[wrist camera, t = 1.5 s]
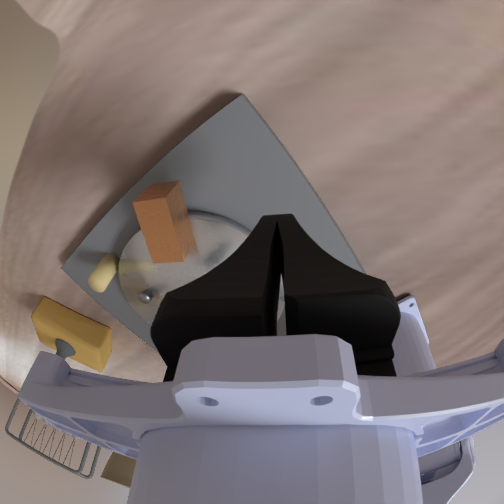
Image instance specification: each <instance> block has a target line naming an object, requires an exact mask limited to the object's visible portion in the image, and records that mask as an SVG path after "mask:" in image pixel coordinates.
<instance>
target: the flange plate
mask: <svg viewBox="0 0 504 504" xmlns="http://www.w3.org/2000/svg"><path fill="white" fill-rule="evenodd" d="M132 203H133V206H134V209H135V212H136V215H137V218H138V221H139V224H140V227H141V228H140V229H139V230H138V231H137V232H136V233H135V234H134V235H133V236H132V238H131V239H130V240H129V242H128V243H127V245H126V246H125V248H124V250H123V252H122V254H121V257H120V261H119V281H120V285H121V288H122V291H123V293H124V295H125V297H126V299H127V301H128V303H129V304H130V306H131V307H132V308H133V310H134V311H135V312H136V313H137V314H138V315H139V316H140V317H141V318H142V319H143V320H144V321H145V322H146V323H147V324H149V325H150V326H152V323H153V321H154V318H155V316H156V313H157V310H158V308H159V306H160V303H161V302H162V300H163V298H164V296H165V294H166V293H167V292H169V291H172V290H174V289H176V288H179V287H181V286H183V285H186V284H188V283H190V282H192V281H194V280H195V279H197V278H199V277H201V276H203V275H204V274H206V273H208V272H209V271H211V270H212V269H213V268H215V267H216V266H218V265H219V264H220V263H222V262H223V261H224V260H226V259H227V258H228V257H229V256H230V255H231V254H233V253H234V252H235V251H236V250H237V249H238V247H239V246H240V245H241V244H242V243H243V242H244V241H245V239H246V238H247V237H248V236H249V234H250V233H251V231H250V230H248V229H247V228H245V227H243V226H242V225H240V224H238V223H236V222H234V221H231V220H229V219H226V218H223V217H220V216H217V215H213V214H208V213H202V212H187V208H186V203H185V199H184V195H183V191H182V187H181V182H180V180H177V181H171V182H164V183H158V184H152V185H149V186H148V187H147V188H146V189H145V190H144V191H143V192H142V193H141V194H140V195H139V196H138V197H137V198H136V199H135V200H134V201H133V202H132ZM284 304H285V303H284V288H283V281H282V275H281V282H280V293H279V303H278V314H277V321H278V320H279V318H280V316H281V314H282V311H283V309H284Z"/></svg>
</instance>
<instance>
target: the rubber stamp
mask: <svg viewBox="0 0 504 504" xmlns="http://www.w3.org/2000/svg"><path fill="white" fill-rule="evenodd" d="M31 318H32V321H33V324H34V326H35V329H36V332H37V335H38V337H39V340H40V341H41V342H42V343H44V344H46V345H47V346H49V347H51V348H53V349H54V350H56V351H57V352H56V355H59V356H60V357H62V358H63V359H64V360H65V358H67V357H70V358H72V359H74V360H76V361H78V362H80V363H82V364H84V365H86V366H88V367H90V368H92V369H94V370H97V371H100V372H102V371H103V370H104V367H105V365H106V363H107V361H108V358H109V356H110V354H111V352H112V338H111V328H109V327H107V326H105V325H102V324H100V323H98V322H96V321H93V320H91V319H89V318H87V317H85V316H83V315H80V314H78V313H76V312H74V311H72V310H70V309H68V308H66V307H64V306H62V305H60V304H58V303H56V302H54V301H52V300H51V299H49V298H47V297H44V298H43V299H42V301H41V302H40V303H39V305H38V306H37V308H36V309H35V310H34V312H33V313H32V315H31Z"/></svg>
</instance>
